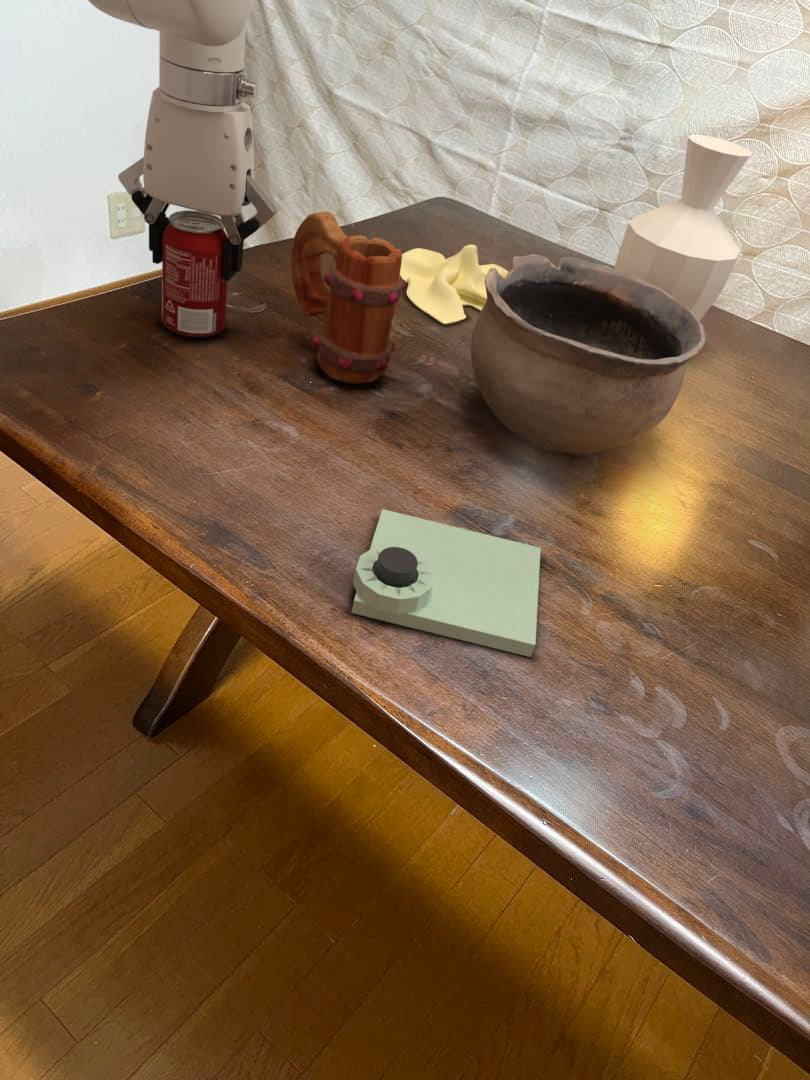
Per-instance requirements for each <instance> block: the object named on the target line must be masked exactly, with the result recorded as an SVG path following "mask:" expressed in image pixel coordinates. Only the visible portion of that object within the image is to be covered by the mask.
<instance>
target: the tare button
mask: <svg viewBox="0 0 810 1080" xmlns="http://www.w3.org/2000/svg"><path fill="white" fill-rule="evenodd" d="M417 565H418V561H417V558H416V557H415V555H414V554H413V553H411V552H410V551H408V550H406V549H404V548H400V547H389V548H386V549H384V550H382V551H381V552H380V554H379V557H378V561H377V566H376V571H375V574H376V577H377V579H378V580H379V581H381V582H382V583H383V584H385V585H388V586H392V587H396V588H402V587H407V586H409V585H410V584H411V583H412V582H413V580H414V577H415V573H416V569H417Z"/></svg>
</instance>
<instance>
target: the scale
mask: <svg viewBox="0 0 810 1080" xmlns="http://www.w3.org/2000/svg"><path fill="white" fill-rule="evenodd" d="M389 547H400V548H404V549H406V550H408V551H410V552H411V553H413V554H414V555H415V557H416V558H417V561H418V565H417V569H416V573H415V577H414V580H413V582H412V583H411V584H410V585H409V586H407V587H402V588H396V587H392V586H388V585H385V584H383V583H382V582H381V581H379V580H378V579H377V577H376V574H375V571H376V566H377V561H378V557H379V554H380V552H381V551H382V550H384V549H386V548H389ZM541 551H542V548H541V547H539V546H535V545H532V544H527V543H524V542H523V543H522V542H520V541H519V542H518V541H515V540H510V539H506V538H502V537H498V536H494V535H490V534H486V533H482V532H478V531H473V530H470V529H466V528H462V527H458V526H453V525H450V524H445V523H441V522H437V521H433V520H429V519H426V518H422V517H416V516H412V515H408V514H405V513H401V512H396V511H392V510H388V509H384V508H382V509H381V512H380V515H379V517H378V521H377V524H376V528H375V529H374V534H373V537H372V540H371V544H370V547H369V550H367V551H365V552H364V553H362V554H361V555H360V556H359V557H358V559H357V564H356V566H355V571H354V576H353V580H352V585H353V587H354V590H355V591H356V592H355V596H354V599H353V603H352V608H351V614H354V615H358V616H361V617H366V618H371V619H373V620H378V621H382V622H385V623H390V624H394V625H399V626H402V627H406V628H411V629H414V630H417V631H423V632H428V633H431V634H434V635H439V636H443V637H448V638H450V639H451V638H452V639H455V640H459V641H464V642H467V643H471V644H475V645H480V646H483V647H488V648H492V649H496V650H500V651H504V652H508V653H512V654H515V655H521V656H524V657H528V658H531V657H532V655H533V652H534V651H535V648H536V644H537V643H536V642H537V626H538V624H537V623H538V606H539V605H538V604H539V590H540V589H539V586H540V585H539V584H540V567H541Z"/></svg>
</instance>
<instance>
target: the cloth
mask: <svg viewBox="0 0 810 1080" xmlns="http://www.w3.org/2000/svg"><path fill="white" fill-rule="evenodd" d="M491 268H496V270H497V271H498V273H499V274H500V275H501V276H502V277H504V278H506V277H507V274H508V272H509V271H508V270H507V269H505V268H504V267H502V266H500V265H498V264H495V263H488V264H479V254H478V247H477V245H476V244H468V245H465V246H463V247H462V249H461V250H460V251H459V252H458V253H456V254H454V255H452V256H449V257H448V258H445V256H444V254H442V253H440V252H437V251H434V250H431V249H425V248H421V247H417V248H412V249H410V250H408V251H405V252H404V253H402V263H401V270H400V276H401V277H402V279H404V280H405V282H406V284H407V288H406V297H407V298H408V299H409V300H410V302H411V303H412V304H413V305H414V306H416V307H417V308H418V309H419V310H421V311H422V312H424V313H425V314H427V315H428V316H430V317H431V318H433V319H434V320H436V321H437V322H438V323H441V324H442V325H450V324H454V323H457V322H461V321H463V320H465V319H466V318H467V315H466V314H465V311H464V306H470V307H473V308H475V309H476V310H477V311H480V312H481V310H482V309H483V307H484V305H485V303H486V301H487V293H486V286H485V278H486V275H487V273H488V271H489V269H491Z"/></svg>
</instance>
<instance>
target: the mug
mask: <svg viewBox="0 0 810 1080" xmlns="http://www.w3.org/2000/svg"><path fill="white" fill-rule="evenodd" d="M293 238H294V239H293V242H292V246H291V259H290V265H291V267H290V269H291V278H292V284H293V288H294V291H295V295H296V298H297V301H298V303H299V305H300V307H301V310H302V312H303V314H304V315H305V316H306V317H307V318H309V317H315V316H317V315H321V314H325V313H326V314H325V319H324V322H322V324H320V326H319V329H318V331H317V335H315V336H314V337H312V338H311V345H312V347H313V348H314V349H316V350H317V362H318V365H319V367H320V368H321V369H322V371H323V372H324V374H326V375H327V376H328V377H329V378H331V379H333V380H335V381H338V382H341V383H344V384H350V385H351V384H366V383H367V384H368V383H372V382H374V381H375V380H378V379H379V378H380V377H382V375H383V371H385V370H386V369H388V364H389V362H390V358H391V354H392V353H393V352H394V351H395V348H396V346H395V344H394V342H392V341H391V339H390V334H391V329H392V323H393V320H394V317H395V312H396V305H397V303H398V302H399V300H400V299H401V296H402V293H403V292H402V291H404V290H405V288H406V287H407V283H406V282H405V280H404V279H402V277H401V276H400V270H401V263H402V254H403V253H402V251H401V250H400V249H399V248H395V246H394V245H393V244H392V243H391V242H390V241H388V240H385V239H383V238H379V237H373V238H372V239H368V237H366V236H365V235H362V234H360V235H359V234H358V235H350V236H348V235H346V234H345V233H344V231H343V230H342V228H341V226H340V225H339V223H338V220H337V219H336V216H335V215H334V214H333V213H331V212H329V211H320V212H314V213H310V214H308V215H307V216H306V217H305V218H304V219H303V221H302V222H301V223H300V225H299V226H298V228H297V229H296V232H295V234H294V237H293ZM325 254H329V255H331V256H332V257H333V258H334V260H333V262H332V264H330V266H329V270H328V272H327V273H326V274H325V275H324V276H323V275H322V255H325ZM325 283H326V285H327V286H328V287H329V291H328V288H327V287H326V285H325Z"/></svg>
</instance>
